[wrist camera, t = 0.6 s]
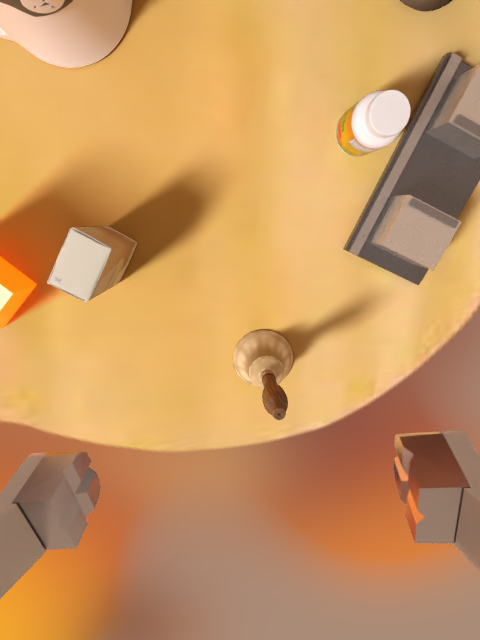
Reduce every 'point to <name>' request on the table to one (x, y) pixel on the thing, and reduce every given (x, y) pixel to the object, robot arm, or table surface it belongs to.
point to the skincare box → (91, 261)
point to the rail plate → (425, 178)
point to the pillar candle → (426, 4)
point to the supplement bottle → (373, 122)
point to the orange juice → (12, 290)
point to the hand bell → (265, 367)
